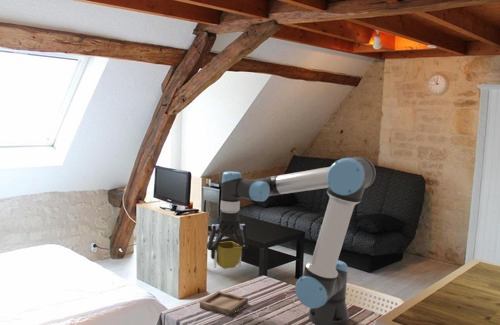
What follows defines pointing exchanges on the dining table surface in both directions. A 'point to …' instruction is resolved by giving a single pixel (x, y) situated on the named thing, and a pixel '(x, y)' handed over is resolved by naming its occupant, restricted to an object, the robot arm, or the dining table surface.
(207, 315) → the dining table surface
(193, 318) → the dining table surface
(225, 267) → the flower pot
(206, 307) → the walnut tray
